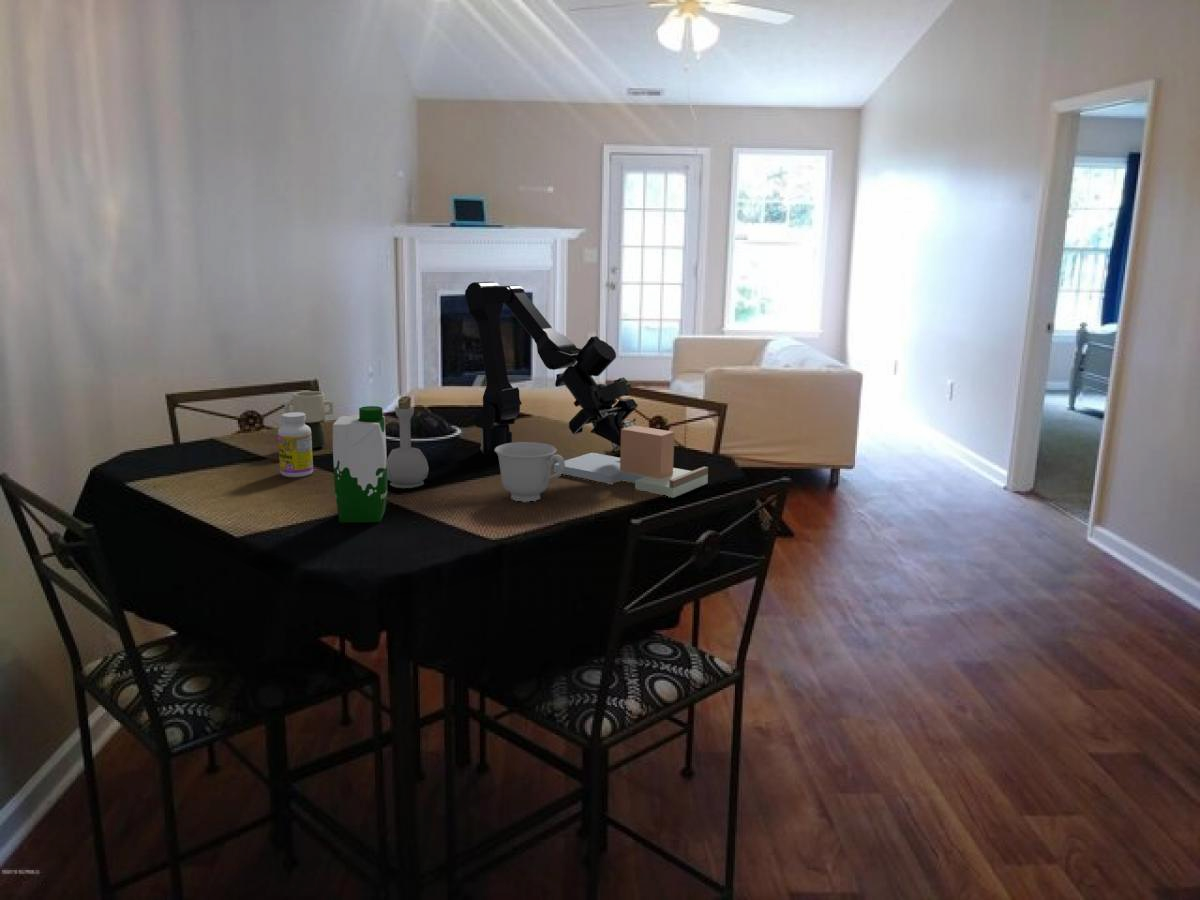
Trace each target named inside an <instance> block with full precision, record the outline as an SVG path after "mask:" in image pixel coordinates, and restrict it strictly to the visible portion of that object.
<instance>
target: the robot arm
mask: <svg viewBox="0 0 1200 900" xmlns="http://www.w3.org/2000/svg"><path fill="white" fill-rule="evenodd" d="M464 298H465V302H466V305H467V308H468V311H469V313H470V314H471V316H472V317H473V318H474V320H475V322H476V323H477V328H478V335H479V336H478V337H479V342H480V348H481V354H482V361H483V367H484V373H485V381H486V386H485V389H484V391H483V395H482V408H481V410H480V411H479V412H478V413H477V414H476V415H475V416H474V417H473V421H474V424H475V427H476V428H479V429H481V430H480V435H481V436H480V437H481V438H480V439H481V441H480V442H481V445H480V447H479V448H480V451H481V453H482V454H483V455H496V454H497V453H496V452H495V448H496V447H497V446H499V445H502V444H507V443H513V432H512V431H511V429H510V425H515V423H516V419H517V416H518V415H519V413H520V412H521V411H520V410H521V405H523V404H522V401H521V398H520V389H519V387H517V386H516V387H513V385H512V384H511V383H510V382H509V377H508V370H507V365H506V364H507V363H506V359H505V351H504V344H503V339H502V333H501V326H500V316H501V313H502V311H503V308H504V304H505V305H506V306H507V307H508V309H509V310H510V311H511V313H512V314H513V315H514V317H515V318H516V320H518V322H519V323H520V324H521V326H523V328H524V330H525V331H526V332H527V333H528V334H529V335H530V337H531V338H532V339H533V341H534V343H535V345H536V351H537V354H538V357H539V358H540V359H541V361H542V363H543V364H544V367H546V369H549V370H561V369H565V370H564V371H563V372H562V373H557V374H555V376H556V379H555V384H554V385H555V388H559V387H564V386H565V387H566V388H567V389H568V391H569V392H570V394H571V395H572V397H573V398H574V402H573V405H574V406H575V407H580V408H581V409H580V410H579V411H578V412H577V413H575V415H574V416H573V417H572V418H571V420H570V421H569V422H568V429H569V431H570V433H572V435H573V436H575V435H579V434H582V432H584V431H583V430H584V429H583V427H584V426H585V425H588V424H592V427H593V428H592V429H591V430H590V433H591V434H595V435H597V436H599V437H601V438H603V439H605V440H607V441H609V442H612V443H614V444H616V445H618V446H620V447H621V429H623V425H622V421H624V420H626V419H627V418H628V417H629V415H631V414H632V413H633V412H634V411H635V410H636V409H637V408H638V404H637V402H636V400H634V399H633V398H624V399H620V400H617V399H619V398H622V397H624V396H629V395H631V394H630V390H631V386H632V384H631V383H630V382H629V381H628V380H627V379H626V378H625V377H619V378H617V379H615V380H614V382H612V383H609V384H607V385H604V384H602V383H600V384H598V383H597V382H596V381H595V379H594V378H593V377H599V376H601V374H602V373H603V372H604V371H605V370H606V369H607V368H608V367H609V366H610V365H611V364H612V363H613V362H614V361H615V360H616V358H617V353H616V350H615V349H614V348H613V346H611V345H610V344H609V343H607V342H606V341H604V340H602V339H600V338H599V337H598V336H597V335H595V336H591V337H590V338H589V339H588V340H587V342H586V344H585V345H583V347H582V348H581V347H580V348H579V347H577V345H575V344H574V342H573V341H571V339H569V338H568V337H567V336H565V335H564V334H563V333H560V332H559V331H557V330H555V328H553V327H552V325H551V324H550V323H549V321H547V319H546V318H545V317H544V315H543V314H542V313H541V312H540V310H539V309H538V308H537V307H536V305H535V304H534V303H533V301H531V299H530V298H529V297H528V296H527V294H526V292H525V290H524V288H523V287H522V286H520V285H518V284H517V285H516V284H514V285H499V283H497V282H495V281H477V282H474V281H473V282H471V283H470V284H469V285H467V288H466V289H465V290H464ZM612 443H611V444H612ZM497 455H498V454H497Z"/></svg>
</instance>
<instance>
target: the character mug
mask: <svg viewBox="0 0 1200 900" xmlns="http://www.w3.org/2000/svg"><path fill="white" fill-rule="evenodd" d="M325 397H326V396H325V393H324V392H322V391H318V390H315V391H314V390H307V391H305V390H304V391H298V392H294V393H292V400H290V401H289V400H286V401H285V402H284V404H283V405H284V414H285V413H291V412H301V413H305V416H306V420H305V425H308V426H309V427H310V429H311V437H312V449H315V448H317V447H318V448H320V447H322V446H324V445H326V442H325V436H324V435H325V434H324V431H323V425H322V424H321V422H323V421H324V420H325V418H326V415H333V414H334V412H335V410H334V409H335V408H334V401H333V400H325V399H326V398H325ZM326 405H328V408H329V409H328V410H326ZM290 406H292V407H293V409H292V410H290Z"/></svg>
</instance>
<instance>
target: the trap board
mask: <svg viewBox="0 0 1200 900" xmlns="http://www.w3.org/2000/svg"><path fill="white" fill-rule="evenodd" d="M564 462H565V469H564V472H563V473H562V474H567V475H572V476H577V477H582V478H587V479H592V480H596V481H601V482H606V483H614V482H616V481H619V480H626V481H630V482H635V484H634V487H635V489H639V490H644V491H648V492H653V493H658V494H664V495H666V496H668V497H667V498H673V499H674V498H676V497H679V496H682V495H683V494H686V493H688V492H691V491H693V490H696V489H698V488H700V487H703V486H705V485H707V484H708V481H709V480H708V479H709V466H702V467H698V468H697V469H694V470H688V469H684V468H683V469H682V468H677V467H673V474H671V475H669V476H666V477H663V478H661V479H659V478H654V477H649V476H644V475H639V474H634V473H629V472H624V471H620V457H617V456H613V455H607V454H602V453H596V452H590V453H586V454H583V455H579V456H576V457H573V458H570V459H567V460H564ZM558 470H559V463H558V462H557V463H554V464H553V473H554V472H557V471H558ZM635 489H634V490H635ZM666 496H665V497H666Z"/></svg>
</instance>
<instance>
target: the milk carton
mask: <svg viewBox="0 0 1200 900" xmlns="http://www.w3.org/2000/svg"><path fill="white" fill-rule="evenodd" d="M358 411H359V413H358V414H355V415H341V416H340V417H338V418H337V419H336V421H335V422H333V424H332V456H333V457H332V458H333V459H332V460H333V479H334V495H335V501H336V509H337V514H338V522H339V523H341V524H342V523H381V521H382V519H383V517H384V515H385V513H386V510H387V508H386V507H387V499H388V497H387V496H388V480H387V458H388V456H387V437H386V418H385V416H384V415H383V408H382V407H381V406H375V405H374V406H373V405H372V406H371V405H368V406H362V407H359V408H358Z"/></svg>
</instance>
